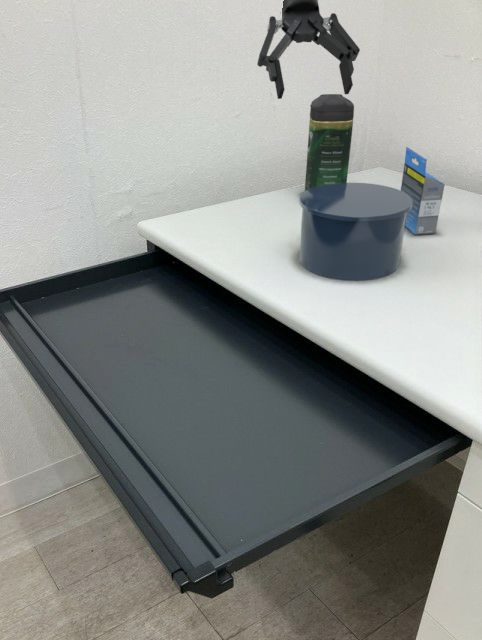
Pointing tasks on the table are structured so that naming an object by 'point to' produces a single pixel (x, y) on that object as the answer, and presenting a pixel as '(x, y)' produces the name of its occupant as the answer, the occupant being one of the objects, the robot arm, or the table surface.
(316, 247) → the pot
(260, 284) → the table surface
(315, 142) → the coffee jar
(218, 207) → the table surface
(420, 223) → the tape cartridge
